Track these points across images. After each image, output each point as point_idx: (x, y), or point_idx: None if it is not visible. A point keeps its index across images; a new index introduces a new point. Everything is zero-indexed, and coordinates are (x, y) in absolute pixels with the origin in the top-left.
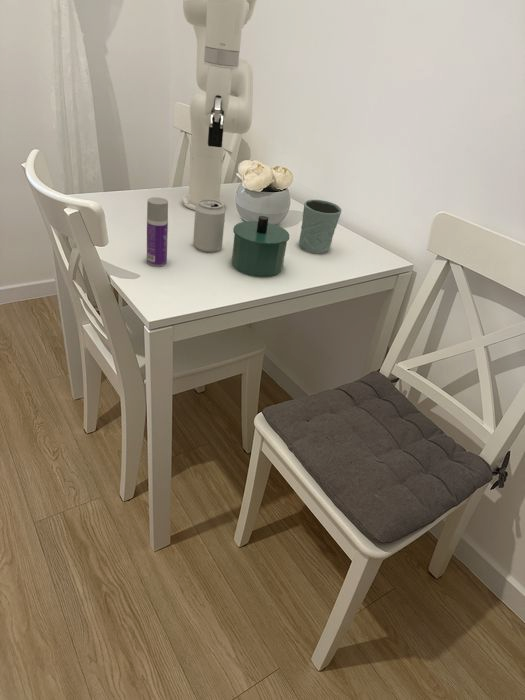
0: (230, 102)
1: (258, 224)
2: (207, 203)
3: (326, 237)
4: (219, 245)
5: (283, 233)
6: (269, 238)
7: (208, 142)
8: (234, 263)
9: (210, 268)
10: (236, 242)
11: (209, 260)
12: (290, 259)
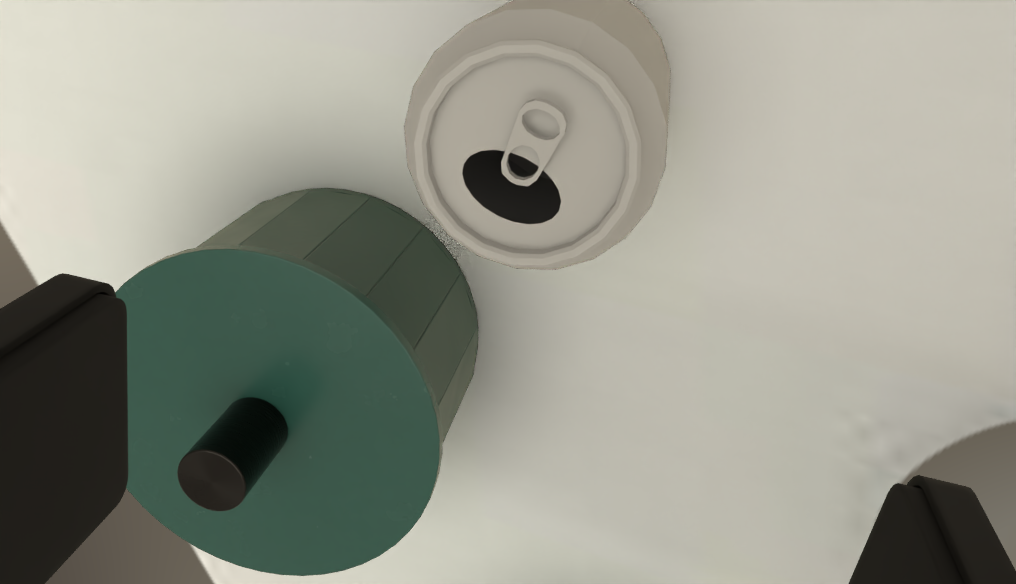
0: None
1: (216, 425)
2: (515, 126)
3: None
4: (495, 157)
5: (257, 543)
6: (159, 438)
7: (37, 299)
8: (287, 198)
9: (274, 49)
10: (232, 240)
11: (380, 62)
12: (441, 513)
